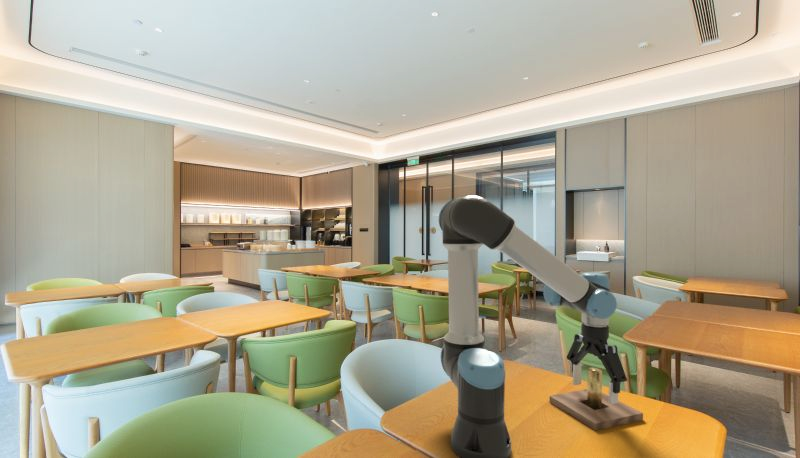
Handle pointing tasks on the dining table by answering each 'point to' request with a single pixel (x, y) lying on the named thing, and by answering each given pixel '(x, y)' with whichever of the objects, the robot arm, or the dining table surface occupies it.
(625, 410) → the board
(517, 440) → the dining table surface
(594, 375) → the pin
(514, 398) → the dining table surface
